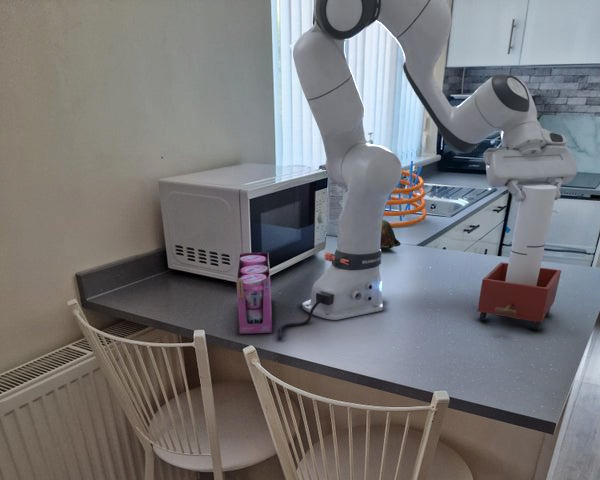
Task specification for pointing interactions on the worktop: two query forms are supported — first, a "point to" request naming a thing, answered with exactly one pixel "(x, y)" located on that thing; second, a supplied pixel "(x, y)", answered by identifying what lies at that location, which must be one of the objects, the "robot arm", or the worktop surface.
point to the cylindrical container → (530, 234)
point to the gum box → (254, 293)
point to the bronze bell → (388, 236)
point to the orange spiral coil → (408, 201)
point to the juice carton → (334, 205)
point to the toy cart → (518, 295)
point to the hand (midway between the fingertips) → (538, 199)
